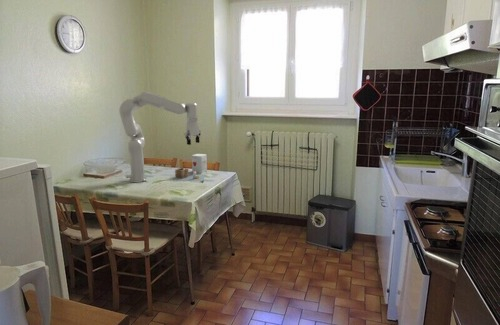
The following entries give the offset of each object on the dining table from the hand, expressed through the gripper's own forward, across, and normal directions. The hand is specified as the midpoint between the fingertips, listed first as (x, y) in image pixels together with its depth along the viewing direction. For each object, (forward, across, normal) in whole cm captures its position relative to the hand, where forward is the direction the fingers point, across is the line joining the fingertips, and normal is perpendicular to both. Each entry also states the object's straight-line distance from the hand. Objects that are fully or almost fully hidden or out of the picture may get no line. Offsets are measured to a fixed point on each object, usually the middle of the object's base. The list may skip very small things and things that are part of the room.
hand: (193, 143), depth 259 cm
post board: (+27, +3, -3) cm, 27 cm away
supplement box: (+27, -16, -9) cm, 33 cm away
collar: (+26, +4, -9) cm, 28 cm away
